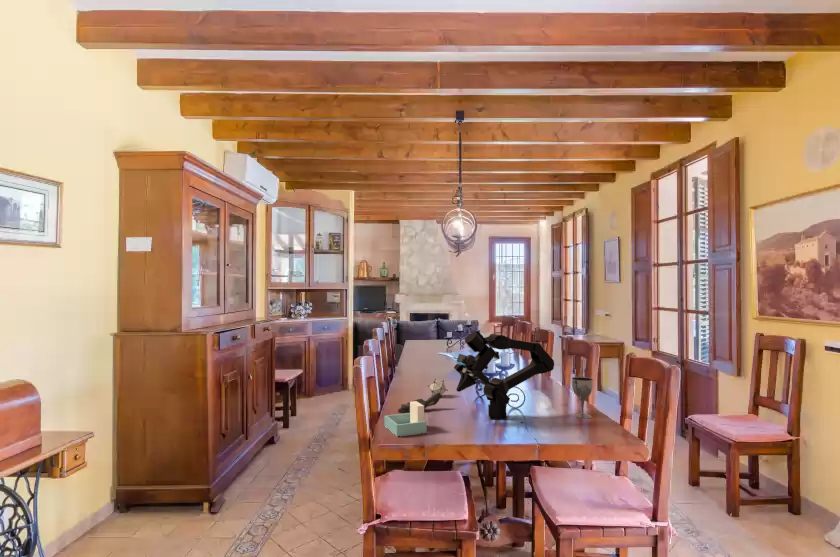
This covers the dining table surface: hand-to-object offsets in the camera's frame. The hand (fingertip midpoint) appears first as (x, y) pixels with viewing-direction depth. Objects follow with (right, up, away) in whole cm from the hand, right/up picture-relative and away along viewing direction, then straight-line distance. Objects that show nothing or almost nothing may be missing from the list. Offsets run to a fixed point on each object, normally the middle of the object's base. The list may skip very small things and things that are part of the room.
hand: (457, 390), depth 183 cm
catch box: (-19, -12, -8) cm, 24 cm away
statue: (-14, -13, +18) cm, 26 cm away
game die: (-6, -13, +43) cm, 45 cm away
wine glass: (+51, -12, +9) cm, 53 cm away
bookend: (-19, -12, -8) cm, 24 cm away
